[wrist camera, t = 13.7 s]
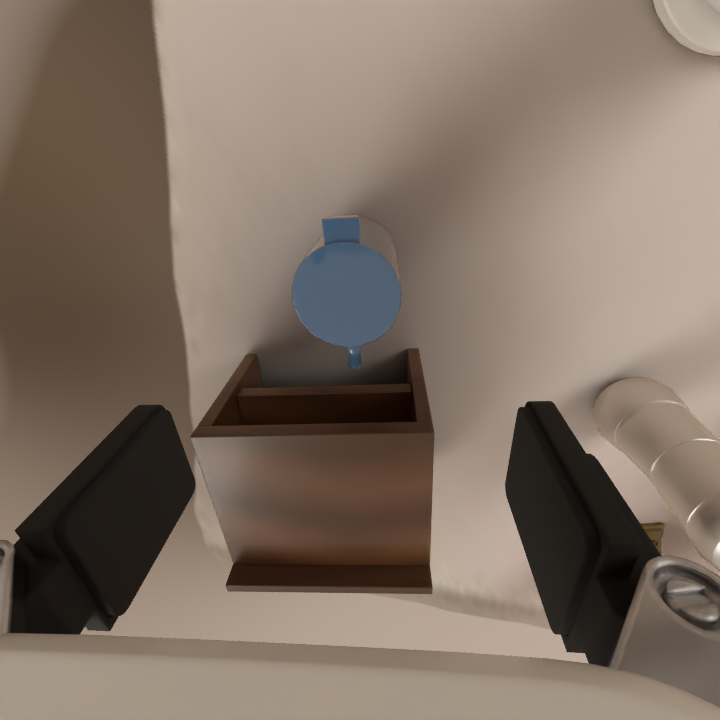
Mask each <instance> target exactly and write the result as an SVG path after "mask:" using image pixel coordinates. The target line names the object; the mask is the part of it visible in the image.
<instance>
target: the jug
mask: <svg viewBox="0 0 720 720" xmlns="http://www.w3.org/2000/svg"><path fill="white" fill-rule="evenodd" d="M322 227H323V235H322V236H321V238H320V239H319V240H318V242H317V243H316V244H315V246H314V247H313V248H312V250H311V251H310V252H309V254H308V255H307V256H306V258H305V259H304V261H303V262H302V263H301V265H300V266H299V268H298V270H297V272H296V274H295V277H294V281H293V286H292V298H293V304H294V308H295V311H296V313H297V315H298V317H299V319H300V321H301V322H302V324H303V325H304V326H305V327H306V328H307V330H308V331H310V332H311V333H312V334H313V335H314V336H316V337H317V338H319V339H321V340H322V341H324V342H327V343H329V344H332V345H336V346H342V347H347V353H348V364H349V367H350V368H351V369H354V370H356V369H358V368H360V366H361V362H362V352H363V345H364V344H367V343H370V342H372V341H374V340H376V339H378V338H379V337H381V336H382V335H383V334H384V333H385V332H386V331H387V330H388V329H389V328H390V327H391V326H392V324H393V323H394V321H395V319H396V317H397V315H398V312H399V309H400V304H401V287H400V279H399V272H398V265H397V258H396V251H395V246H394V243H393V240H392V239H391V237H390V235H389V234H388V232H387V231H386V230H385V229H384V228H383V227H382V226H381V225H380V224H378V223H377V222H375V221H373V220H371V219H369V218H365V217H360V216H359V215H346V216H330V217H324V218H323V219H322Z"/></svg>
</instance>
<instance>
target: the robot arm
mask: <svg viewBox="0 0 720 720" xmlns="http://www.w3.org/2000/svg"><path fill="white" fill-rule="evenodd" d="M653 3H654V6H655V10H656V13H657V15H658V17H659V18H660V20H661V22H662V23H663V25H664V27H665V29H666V30H667V31H668V32H669V33H670V34H671V35H672V36H673V37H674V38H675V39H676V40H677V41H678V42H679V43H680V44H682V45H684V46H685V47H687V48H689V49H691V50H693V51H695V52H698V53H703V54H707V55H712V56H720V0H653ZM505 489H506V496H507V499H508V502H509V505H510V508H511V511H512V514H513V517H514V520H515V523H516V526H517V529H518V532H519V535H520V538H521V541H522V544H523V547H524V550H525V553H526V556H527V559H528V562H529V565H530V568H531V571H532V574H533V577H534V580H535V583H536V586H537V589H538V592H539V595H540V598H541V601H542V604H543V607H544V610H545V613H546V616H547V619H548V622H549V625H550V627H551V629H552V631H553V633H554V634H561V636H562V639H563V642H564V645H565V648H566V650H567V652H576V653H585V654H586V657H587V659H588V662H589V664H587V663H579V662H571V661H563V660H555V659H546V658H533V657H518V656H504V655H490V654H476V653H461V652H442V651H424V650H405V649H386V648H385V649H384V648H367V647H348V646H347V647H346V646H328V645H306V644H285V643H265V642H243V641H222V640H221V641H220V640H200V639H177V638H152V637H128V636H126V637H125V636H104V635H80V633H81V631H82V630H83V628H84V627H86V628H87V629H88V630H96V631H110V630H111V628H112V627H113V625H114V623H115V622H116V620H117V618H118V616H121V615H122V614H124V613H125V612H126V610H127V609H128V608H129V606H130V604H131V602H132V601H133V599H134V597H135V595H136V593H137V592H138V590H139V588H140V586H141V585H142V583H143V581H144V579H145V578H146V576H147V574H148V572H149V571H150V569H151V567H152V565H153V564H154V562H155V560H156V558H157V557H158V555H159V553H160V551H161V549H162V548H163V546H164V544H165V542H166V540H167V539H168V537H169V535H170V534H171V532H172V530H173V528H174V527H175V525H176V523H177V521H178V519H179V518H180V516H181V514H182V513H183V511H184V509H185V507H186V506H187V504H188V502H189V500H190V499H191V497H192V495H193V493H194V490H195V479H194V476H193V473H192V470H191V468H190V465H189V462H188V459H187V457H186V454H185V451H184V448H183V446H182V443H181V440H180V437H179V435H178V432H177V429H176V426H175V424H174V421H173V418H172V415H171V413H170V412H169V411H168V410H165V408H164V407H163V406H162V405H139V406H137V407H135V408H134V409H133V410H132V411H131V412H130V414H128V416H127V417H125V418H124V419H123V421H122V422H121V423H120V424H119V425H118V426H117V427H116V428H115V429H114V430H113V431H112V432H111V433H110V434H109V435H108V436H107V437H106V438H105V439H104V440H103V441H102V442H101V443H100V444H99V445H98V446H97V447H96V448H95V449H94V450H93V451H92V452H91V453H90V454H89V455H88V456H87V457H86V458H85V459H84V460H83V461H82V462H81V463H80V464H79V465H78V466H77V467H76V468H75V470H73V471H72V473H71V474H70V475H69V476H68V477H67V478H66V479H65V480H64V481H63V482H62V483H61V484H60V485H59V486H58V487H57V488H56V489H55V490H54V491H53V492H52V493H51V494H50V495H49V496H48V497H47V498H46V499H45V500H44V501H43V502H42V503H41V504H40V506H38V507H37V508H36V509H35V510H34V511H33V512H32V513H31V514H30V515H29V516H28V517H27V518H26V520H25V521H23V523H22V524H21V525H20V526H19V527H18V528H17V529H16V530H15V532H16V533H17V534H18V536H19V537H20V539H19V540H18V541H17V542H16V543H15V544H14V545H13V544H11V543H10V542H9V541H7V540H0V720H720V576H718V575H717V574H715V573H714V572H712V571H710V570H709V569H707V568H705V567H704V566H702V565H700V564H697V563H695V562H692V561H690V560H687V559H684V558H679V557H674V556H661V554H660V553H659V551H658V550H657V548H656V547H655V545H654V544H653V542H652V541H651V539H650V538H649V536H648V535H647V533H646V532H645V530H644V529H643V527H642V526H641V524H640V523H639V521H638V520H637V518H636V517H635V515H634V514H633V512H632V511H631V509H630V508H629V506H628V505H627V503H626V502H625V500H624V499H623V497H622V496H621V494H620V493H619V491H618V490H617V488H616V487H615V485H614V484H613V482H612V481H611V479H610V478H609V476H608V475H607V473H606V472H605V470H604V469H603V467H602V466H601V464H600V463H599V461H598V460H597V459H596V458H595V456H593V455H591V454H586V453H585V451H584V450H583V448H582V446H581V445H580V443H579V442H578V440H577V439H576V437H575V436H574V434H573V432H572V431H571V429H570V428H569V426H568V425H567V423H566V421H565V420H564V418H563V417H562V415H561V414H560V412H559V411H558V409H557V407H556V406H555V404H554V403H553V402H551V401H528V402H527V403H526V405H525V407H520V408H519V409H518V412H517V418H516V423H515V429H514V435H513V441H512V447H511V453H510V459H509V465H508V471H507V477H506V483H505Z"/></svg>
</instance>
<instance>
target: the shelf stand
mask: <svg viewBox="0 0 720 720" xmlns="http://www.w3.org/2000/svg"><path fill="white" fill-rule="evenodd" d="M407 356H408V384H380V385H344V386H308V387H271V388H263V383H262V379H261V374H260V369H259V364H258V360H257V355H256V354H249V355H246V356H245V357H244V359H243V360H242V362H241V363H240V365H239V366H238V368H237V369H236V371H235V372H234V374H233V375H232V376H231V378H230V379H229V381H228V382H227V384H226V385H225V387H224V388H223V390H222V391H221V393H220V394H219V396H218V397H217V399H216V400H215V401H214V403H213V404H212V406H211V407H210V409H209V410H208V412H207V413H206V415H205V416H204V418H203V419H202V421H201V422H200V423H199V425H198V427H197V428H196V429H195V431H194V432H193V434H192V435H191V437H190V438H191V441H192V444H193V447H194V450H195V453H196V456H197V459H198V462H199V464H200V467H201V470H202V473H203V476H204V479H205V482H206V485H207V488H208V491H209V494H210V497H211V500H212V503H213V505H214V508H215V511H216V514H217V517H218V520H219V523H220V526H221V529H222V532H223V535H224V538H225V541H226V544H227V546H228V549H229V552H230V555H231V558H232V561H233V564H234V565H233V566H232V569H231V572H230V575H229V577H228V580H227V583H226V588H227V591H243V592H245V591H246V592H250V591H251V592H320V593H396V594H432V579H431V571H430V545H431V515H432V485H433V455H434V429H433V424H432V418H431V413H430V407H429V402H428V397H427V391H426V386H425V381H424V375H423V370H422V365H421V359H420V354H419V349H408V350H407Z"/></svg>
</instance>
